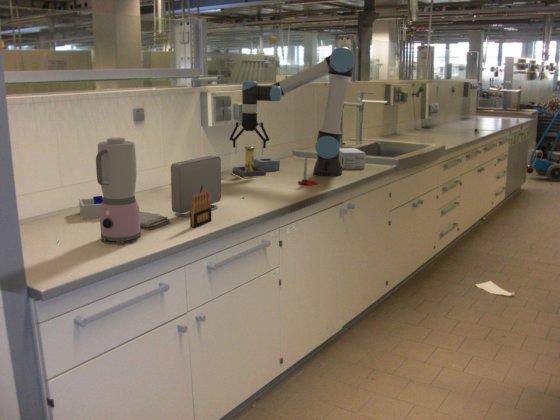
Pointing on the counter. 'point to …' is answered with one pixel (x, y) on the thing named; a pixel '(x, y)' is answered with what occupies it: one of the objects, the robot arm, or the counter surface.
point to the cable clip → (98, 199)
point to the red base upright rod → (304, 181)
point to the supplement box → (351, 158)
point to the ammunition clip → (200, 209)
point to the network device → (195, 182)
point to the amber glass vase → (249, 158)
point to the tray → (241, 171)
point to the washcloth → (152, 221)
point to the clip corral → (89, 208)
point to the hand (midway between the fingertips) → (249, 154)
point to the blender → (118, 190)
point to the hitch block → (267, 164)
